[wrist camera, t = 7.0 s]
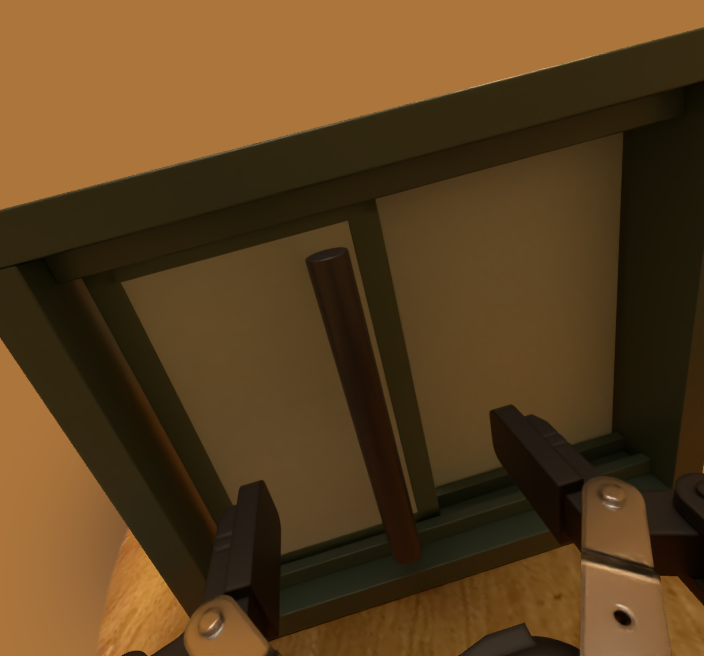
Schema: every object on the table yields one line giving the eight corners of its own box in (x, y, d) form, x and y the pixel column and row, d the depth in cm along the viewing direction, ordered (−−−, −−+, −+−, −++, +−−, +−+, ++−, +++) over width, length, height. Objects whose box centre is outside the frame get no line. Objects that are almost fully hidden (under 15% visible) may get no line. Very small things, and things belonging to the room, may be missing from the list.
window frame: (216, 658, 19) (-75, 229, 11) (230, 564, 24) (34, 212, 15) (697, 502, 20) (780, 6, 12) (622, 442, 25) (643, 53, 16)
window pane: (239, 656, 18) (5, 286, 10) (247, 572, 21) (79, 256, 14) (469, 581, 18) (395, 181, 11) (438, 512, 22) (368, 179, 15)
